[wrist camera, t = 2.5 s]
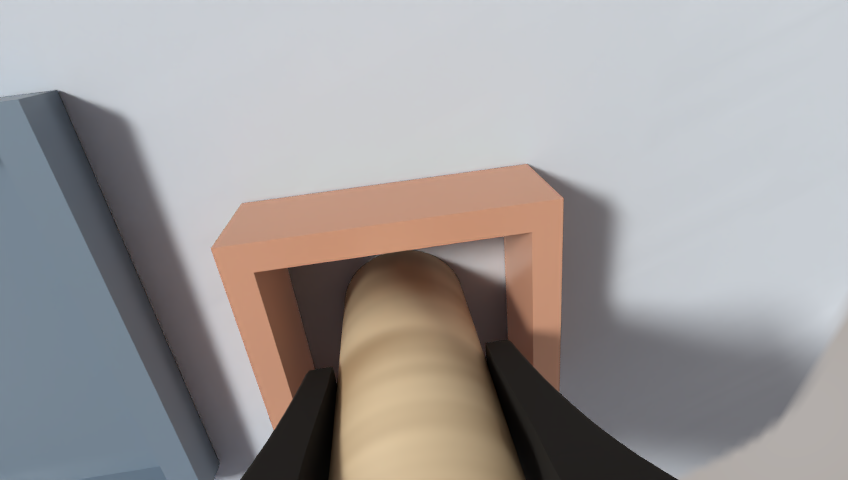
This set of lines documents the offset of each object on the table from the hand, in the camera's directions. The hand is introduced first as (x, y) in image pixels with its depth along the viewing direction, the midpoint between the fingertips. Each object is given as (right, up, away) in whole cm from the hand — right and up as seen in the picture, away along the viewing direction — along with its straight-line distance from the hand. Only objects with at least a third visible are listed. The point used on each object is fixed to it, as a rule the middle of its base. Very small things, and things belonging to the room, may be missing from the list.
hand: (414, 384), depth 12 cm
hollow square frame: (0, +2, +4) cm, 4 cm away
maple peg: (0, +2, +4) cm, 4 cm away
